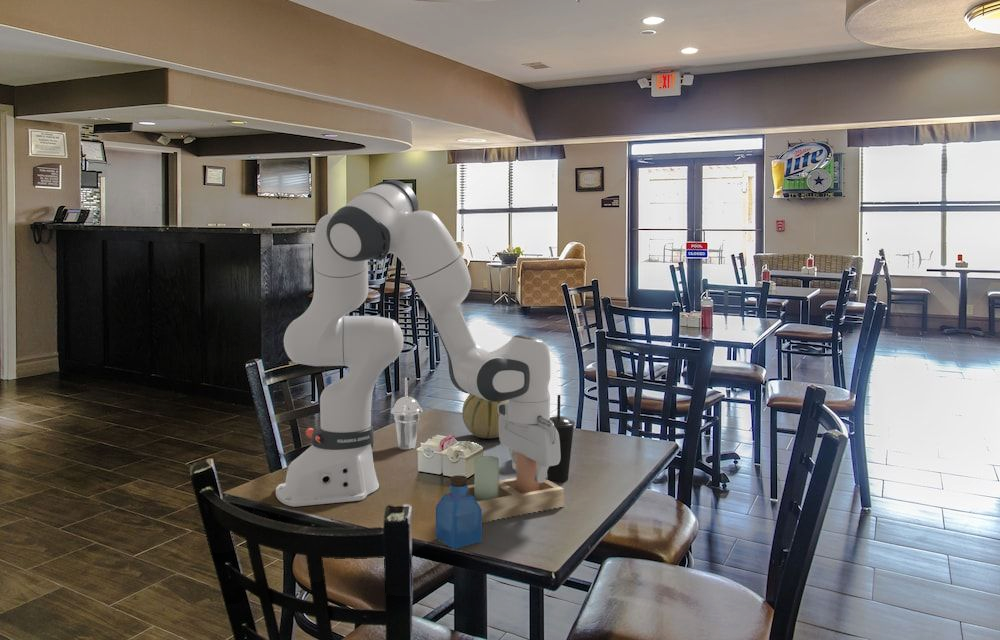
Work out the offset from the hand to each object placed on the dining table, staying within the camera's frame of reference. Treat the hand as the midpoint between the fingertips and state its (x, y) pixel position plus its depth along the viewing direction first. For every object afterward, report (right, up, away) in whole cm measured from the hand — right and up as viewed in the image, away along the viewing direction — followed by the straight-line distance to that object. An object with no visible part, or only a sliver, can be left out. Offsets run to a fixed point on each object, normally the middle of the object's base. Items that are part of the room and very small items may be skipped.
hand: (528, 475), depth 161 cm
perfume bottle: (-14, -8, -19) cm, 25 cm away
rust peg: (0, -6, +1) cm, 6 cm away
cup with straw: (-31, -1, +43) cm, 53 cm away
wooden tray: (-4, -6, -2) cm, 8 cm away
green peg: (-9, -7, -4) cm, 12 cm away
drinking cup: (+8, -5, +17) cm, 19 cm away
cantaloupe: (-9, 0, +53) cm, 54 cm away
